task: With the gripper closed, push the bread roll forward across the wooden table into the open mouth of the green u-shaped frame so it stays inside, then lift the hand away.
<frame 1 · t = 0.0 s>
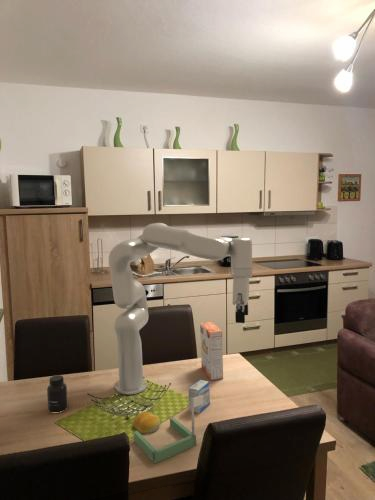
hand: (242, 318, 140), 31 cm above the table, tool pointing down, fingers open, 9 cm apart
medicine box: (199, 408, 140), on the table
cracker box: (211, 373, 168), on the table
bread roll: (146, 427, 129), on the table
supplement bottle: (58, 409, 141), on the table
green u-shaped frame: (163, 441, 120), on the table
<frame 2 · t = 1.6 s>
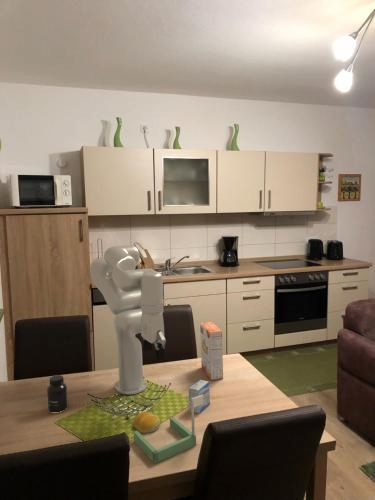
hand: (153, 355, 136), 20 cm above the table, tool pointing down, fingers open, 9 cm apart
nothing on the table moved.
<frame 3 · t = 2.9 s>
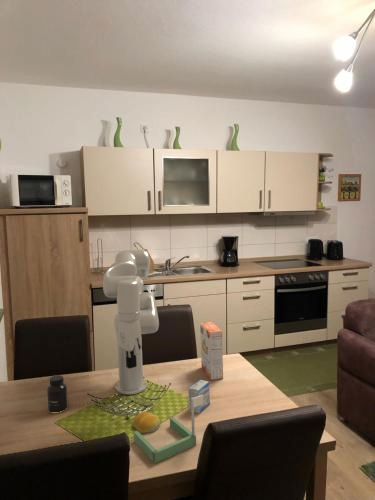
hand: (131, 366, 135), 17 cm above the table, tool pointing down, fingers closed
nothing on the table moved.
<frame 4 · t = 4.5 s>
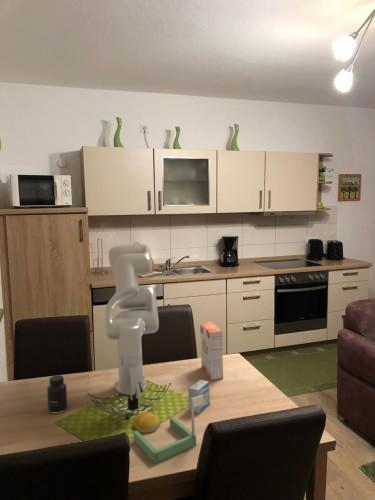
hand: (133, 408, 137), 2 cm above the table, tool pointing down, fingers closed
nothing on the table moved.
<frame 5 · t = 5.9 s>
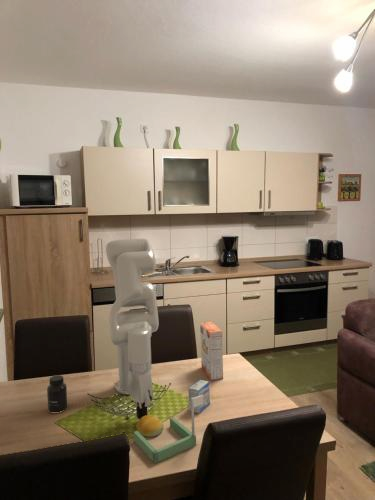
hand: (142, 417, 131), 2 cm above the table, tool pointing down, fingers closed
bread roll: (149, 430, 127), on the table, touching gripper
everything else where it was.
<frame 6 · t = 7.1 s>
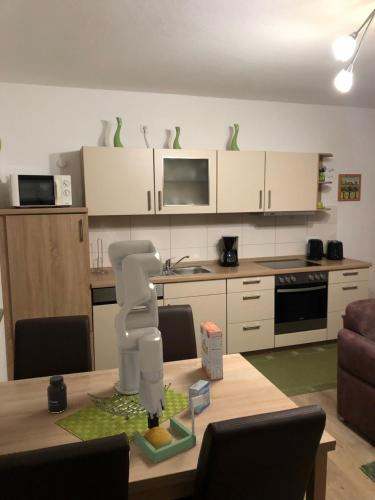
hand: (153, 427, 125), 2 cm above the table, tool pointing down, fingers closed
bread roll: (157, 443, 120), on the table, touching gripper
everything else where it was.
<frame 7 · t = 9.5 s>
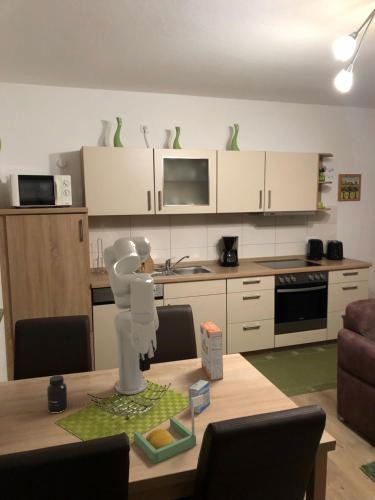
hand: (144, 369, 127), 19 cm above the table, tool pointing down, fingers closed
bread roll: (159, 446, 118), on the table
everything else where it was.
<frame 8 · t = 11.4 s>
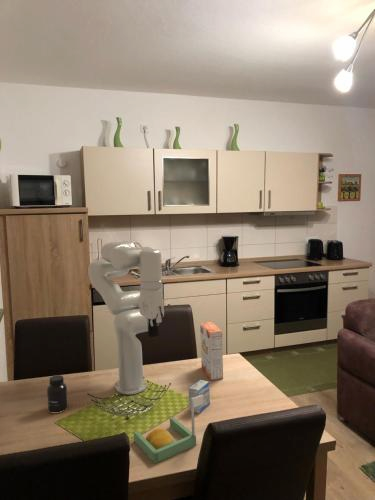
hand: (153, 335, 137), 27 cm above the table, tool pointing down, fingers closed
nothing on the table moved.
at the end: bread roll inside the target area on the green u-shaped frame (1.7 cm from its centre), point -0.5 cm above the green u-shaped frame's base; bread roll moved 11.5 cm from its start; the gripper is holding nothing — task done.
